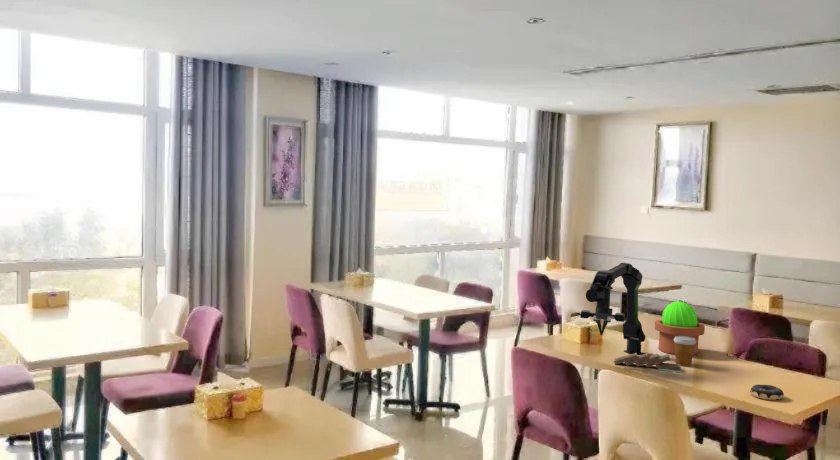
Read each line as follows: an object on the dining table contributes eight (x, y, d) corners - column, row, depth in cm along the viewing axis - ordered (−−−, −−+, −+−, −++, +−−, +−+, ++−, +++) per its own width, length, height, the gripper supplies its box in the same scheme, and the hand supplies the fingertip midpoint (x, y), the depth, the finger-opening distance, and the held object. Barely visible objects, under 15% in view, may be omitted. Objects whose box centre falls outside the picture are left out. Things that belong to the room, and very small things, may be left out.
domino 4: (645, 363, 306) (668, 356, 303) (646, 361, 311) (668, 353, 307) (647, 367, 306) (670, 359, 303) (647, 364, 310) (669, 357, 307)
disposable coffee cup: (691, 362, 319) (692, 336, 318) (697, 367, 309) (699, 340, 308) (669, 361, 320) (671, 335, 319) (675, 366, 310) (676, 339, 309)
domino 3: (635, 363, 307) (657, 356, 304) (635, 360, 312) (657, 353, 309) (636, 367, 307) (659, 359, 304) (637, 364, 312) (659, 356, 309)
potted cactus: (670, 357, 327) (674, 304, 325) (645, 346, 348) (647, 296, 346) (712, 356, 332) (715, 303, 330) (684, 345, 353) (687, 296, 351)
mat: (658, 370, 303) (658, 369, 303) (658, 365, 310) (658, 364, 310) (681, 372, 300) (681, 371, 300) (680, 368, 308) (680, 367, 308)
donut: (788, 398, 268) (789, 388, 267) (772, 403, 261) (772, 392, 261) (760, 391, 277) (760, 381, 277) (743, 395, 270) (744, 385, 270)
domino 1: (613, 361, 310) (636, 355, 307) (614, 358, 315) (636, 352, 311) (615, 364, 310) (637, 358, 307) (615, 362, 314) (637, 356, 311)
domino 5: (656, 364, 304) (680, 367, 301) (656, 361, 309) (680, 364, 306) (655, 368, 305) (680, 370, 302) (655, 365, 309) (680, 368, 306)
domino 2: (624, 362, 308) (647, 355, 305) (625, 359, 313) (647, 353, 310) (626, 366, 308) (648, 359, 305) (626, 363, 313) (648, 356, 310)
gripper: (580, 301, 305) (578, 336, 306) (624, 304, 300) (622, 340, 301) (582, 297, 316) (580, 331, 317) (625, 300, 310) (623, 335, 311)
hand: (601, 335), depth 311 cm, fingers closed
